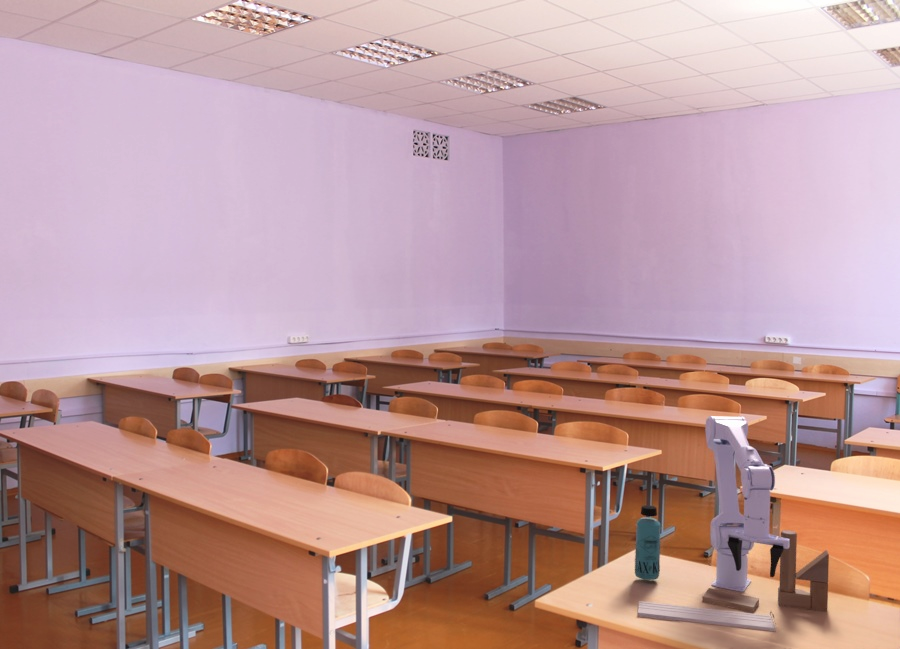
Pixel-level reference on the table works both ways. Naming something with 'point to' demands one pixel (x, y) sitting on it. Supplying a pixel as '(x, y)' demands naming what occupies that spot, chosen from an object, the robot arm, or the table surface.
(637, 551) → the beverage bottle
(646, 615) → the baseboard
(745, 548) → the robot arm
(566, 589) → the table surface
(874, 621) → the table surface
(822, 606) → the wooden block
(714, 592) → the plank
